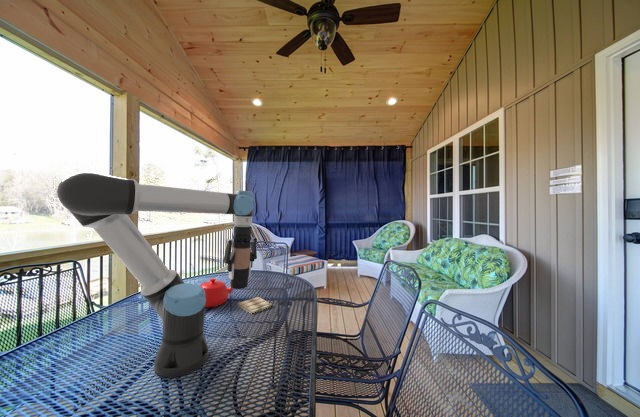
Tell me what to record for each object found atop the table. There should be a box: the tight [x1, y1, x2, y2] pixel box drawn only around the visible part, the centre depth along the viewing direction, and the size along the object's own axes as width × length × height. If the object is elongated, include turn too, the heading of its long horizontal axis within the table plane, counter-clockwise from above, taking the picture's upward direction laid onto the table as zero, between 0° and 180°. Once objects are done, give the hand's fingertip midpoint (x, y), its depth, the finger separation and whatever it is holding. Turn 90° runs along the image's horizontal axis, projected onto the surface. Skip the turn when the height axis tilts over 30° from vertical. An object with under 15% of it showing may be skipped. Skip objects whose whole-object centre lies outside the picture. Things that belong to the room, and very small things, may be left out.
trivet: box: [237, 296, 273, 315], centre depth 118 cm, size 12×12×2 cm
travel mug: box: [230, 241, 251, 290], centre depth 104 cm, size 8×8×20 cm
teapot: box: [199, 277, 234, 309], centre depth 119 cm, size 25×16×12 cm, turn 133°
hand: (239, 276), depth 104 cm, fingers closed on travel mug, 8 cm apart
